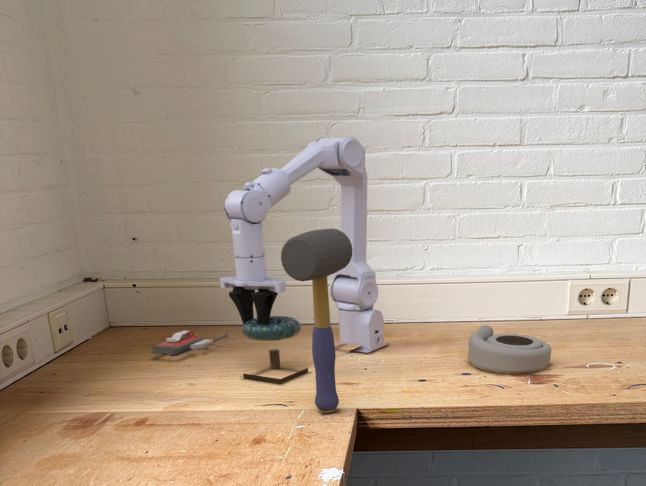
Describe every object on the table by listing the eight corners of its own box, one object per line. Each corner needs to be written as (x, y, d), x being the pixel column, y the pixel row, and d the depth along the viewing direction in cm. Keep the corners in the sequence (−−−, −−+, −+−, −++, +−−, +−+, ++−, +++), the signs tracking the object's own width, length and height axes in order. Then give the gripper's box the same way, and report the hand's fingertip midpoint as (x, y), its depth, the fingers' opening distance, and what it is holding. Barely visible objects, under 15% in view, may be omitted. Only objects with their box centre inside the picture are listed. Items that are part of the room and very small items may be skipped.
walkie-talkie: (182, 363, 167) (232, 341, 185) (180, 343, 166) (230, 323, 184) (147, 361, 170) (199, 339, 188) (144, 340, 168) (197, 321, 186)
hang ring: (312, 332, 156) (311, 317, 155) (277, 344, 147) (276, 328, 146) (267, 327, 161) (266, 313, 160) (231, 339, 152) (230, 323, 151)
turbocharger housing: (536, 384, 151) (556, 364, 164) (540, 351, 148) (560, 333, 161) (453, 370, 157) (479, 352, 170) (455, 337, 155) (481, 322, 167)
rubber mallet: (329, 425, 128) (318, 234, 118) (289, 420, 131) (274, 233, 121) (363, 402, 139) (355, 226, 129) (325, 398, 142) (314, 225, 132)
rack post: (308, 372, 158) (306, 347, 157) (280, 384, 151) (278, 357, 149) (272, 367, 163) (270, 342, 161) (243, 378, 155) (240, 352, 154)
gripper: (206, 257, 151) (213, 327, 156) (266, 260, 144) (272, 334, 149) (231, 252, 157) (237, 320, 161) (290, 255, 150) (295, 326, 155)
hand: (256, 326), depth 156 cm, fingers closed on hang ring, 3 cm apart
